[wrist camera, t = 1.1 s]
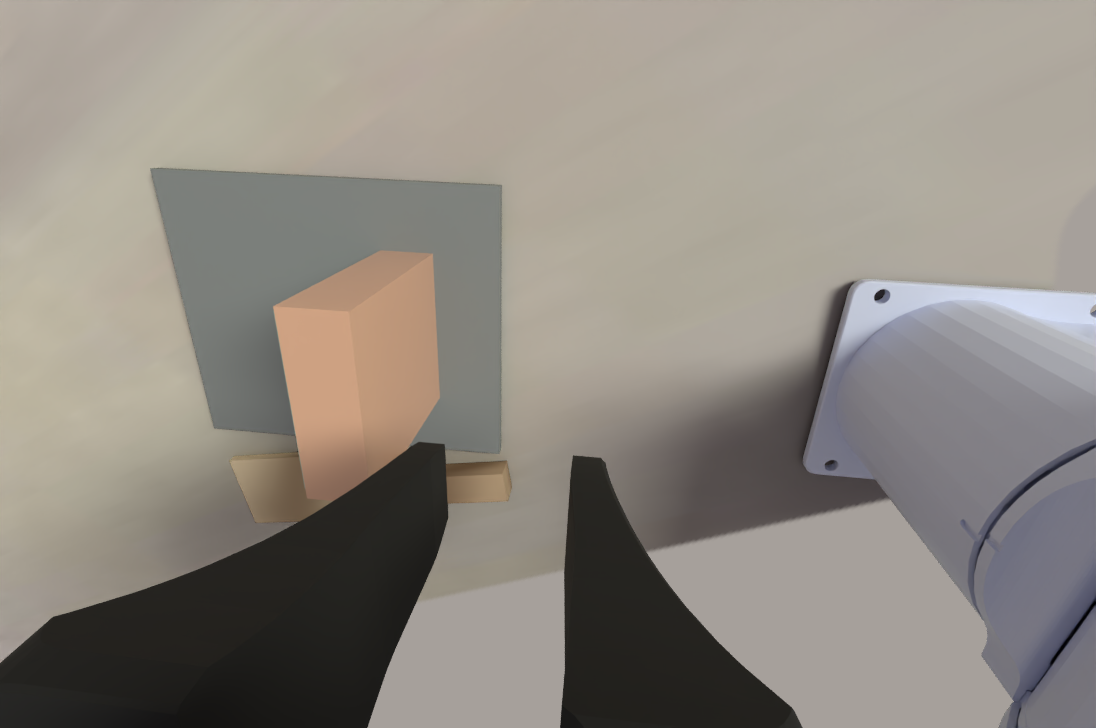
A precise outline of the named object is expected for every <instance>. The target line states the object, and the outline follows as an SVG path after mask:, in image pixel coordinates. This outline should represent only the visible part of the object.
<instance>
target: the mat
mask: <svg viewBox="0 0 1096 728" xmlns="http://www.w3.org/2000/svg"><path fill="white" fill-rule="evenodd" d="M150 170H151V174H152V178H153V182H154V186H155V190H156V194H157V198H158V202H159V206H160V210H161V214H162V218H163V222H164V226H165V231H166V235H167V239H168V243H169V247H170V251H171V255H172V259H173V263H174V267H175V271H176V275H177V279H178V283H179V287H180V291H181V295H182V299H183V303H184V308H185V312H186V316H187V320H188V324H189V328H190V332H191V336H192V340H193V344H194V348H195V352H196V356H197V360H198V364H199V368H200V372H201V376H202V380H203V384H204V389H205V393H206V397H207V401H208V405H209V409H210V413H211V417H212V421H213V425H214V428H218V429H229V430H240V431H251V432H263V433H274V434H285V435H295V431H294V425H293V419H292V414H291V408H290V402H289V397H288V391H287V385H286V380H285V374H284V369H283V363H282V357H281V352H280V346H279V340H278V335H277V329H276V323H275V318H274V312H273V311H274V309H273V306H275V305H276V304H278V303H280V302H282V301H284V300H286V299H288V298H290V297H292V296H294V295H296V294H298V293H300V292H301V291H303V290H305V289H307V288H309V287H311V286H313V285H315V284H317V283H319V282H321V281H323V280H325V279H326V278H328V277H330V276H332V275H334V274H336V273H338V272H340V271H342V270H344V269H346V268H348V267H349V266H351V265H353V264H355V263H357V262H359V261H361V260H363V259H365V258H367V257H369V256H371V255H373V254H374V253H376V252H378V251H380V250H383V251H399V252H415V253H432V254H433V268H434V288H435V308H436V329H437V349H438V369H439V389H440V398H439V400H438V401H437V403H436V405H435V406H434V408H433V409H432V411H431V412H430V414H429V416H428V417H427V419H426V420H425V422H424V423H423V425H422V427H421V428H420V430H419V431H418V433H417V435H416V436H415V438H414V439H413V441H412V442H411V444H410V446H413V445H414V444H416V443H417V442H427V443H438V444H445V449H450V450H461V451H473V452H484V453H495V454H499V453H500V450H501V205H502V185H490V184H470V183H450V182H430V181H410V180H390V179H370V178H350V177H330V176H310V175H290V174H269V173H249V172H229V171H209V170H189V169H169V168H152V169H150Z"/></svg>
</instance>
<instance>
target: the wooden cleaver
mask: <svg viewBox="0 0 1096 728" xmlns="http://www.w3.org/2000/svg"><path fill="white" fill-rule="evenodd" d="M229 462H230V464H231V466H232V469H233V471H234V473H235V476H236V478H237V480H238V483H239V485H240V487H241V490H242V492H243V494H244V497H245V499H246V501H247V504H248V506H249V508H250V511H251V513H252V515H253V518H254V520H255V522H256V523H268V522H298V521H301V520H303V519H305V518H307V517H308V516H310V515H312V514H314V513H315V512H317V511H318V510H320V509H322V508H323V507H325V506H326V505H328V504H329V503H331V502H332V501H327V500H317V499H307V495H306V490H305V487H304V481H303V476H302V470H301V464H300V459H299V453H298V452H294V453H278V454H263V455H248V456H234V457H233V458H232V459H231V460H229ZM446 480H447V501H448V503H474V502H500V501H508V499H509V496H510V492H511V489H512V485H511V479H510V474H509V469H508V464H507V461H498V462H478V463H458V464H446Z"/></svg>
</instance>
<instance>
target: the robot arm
mask: <svg viewBox="0 0 1096 728" xmlns="http://www.w3.org/2000/svg"><path fill="white" fill-rule="evenodd" d="M881 289H885V295H884V296H883V298H881V299H880V300H876V301H875V300H874V295H875V294H876V292H877V291H879V290H881ZM1094 305H1096V293H1090V292H1074V291H1057V290H1041V289H1024V288H1008V287H991V286H975V285H958V284H942V283H925V282H909V281H892V280H876V279H862V280H859V281H857V282H855V283H854V284H853V285H852V286H851V287H850V289H849V291H848V294H847V298H846V302H845V305H844V309H843V313H842V316H841V320H840V324H839V327H838V331H837V335H836V338H835V342H834V346H833V349H832V353H831V357H830V360H829V364H828V368H827V371H826V375H825V379H824V382H823V386H822V390H821V394H820V397H819V401H818V405H817V408H816V412H815V416H814V419H813V423H812V427H811V430H810V434H809V438H808V441H807V445H806V449H805V452H804V456H803V464H804V466H805V468H806V469H807V471H809V472H810V473H813V474H819V475H830V476H842V477H853V478H864V479H875V480H876V481H877V483H878V484H879V485H880V487H881V488H882V489H883V490H884V492H885V493H886V494H887V496H888V497H889V498H890V500H891V501H892V502H893V503H894V505H895V506H896V507H897V509H898V510H899V511H900V513H901V514H902V515H903V517H904V518H905V519H906V520H907V522H908V523H909V524H910V526H911V527H912V528H913V530H914V531H915V532H916V533H917V535H918V536H919V537H920V539H921V540H922V541H923V543H924V544H925V545H926V546H927V548H928V549H929V550H930V552H931V553H932V554H933V555H934V557H935V558H936V559H937V561H938V562H939V563H940V565H941V566H942V567H943V569H944V570H945V571H946V573H947V574H948V575H949V577H950V578H951V579H952V580H953V582H954V583H955V584H956V585H957V587H958V588H959V589H960V591H961V592H962V593H963V595H964V596H965V597H966V599H967V600H968V601H969V602H970V604H971V605H972V606H973V608H974V609H975V610H976V612H977V613H978V614H979V615H980V617H981V618H982V620H983V621H984V622H985V625H986V627H987V634H988V637H987V643H986V646H985V648H984V650H983V652H982V657H983V659H984V660H985V661H986V663H987V664H988V666H989V667H990V668H991V670H992V671H993V673H994V674H995V676H996V677H997V678H998V680H999V681H1000V682H1001V684H1002V685H1003V687H1004V688H1005V690H1006V691H1007V692H1008V694H1009V695H1010V697H1011V698H1012V699H1013V701H1014V702H1013V703H1012V704H1011V705H1010V707H1009V708H1008V709H1007V711H1006V712H1005V714H1004V716H1003V718H1002V720H1001V723H1000V725H999V728H1096V311H1094V312H1092V313H1090V311H1091V309H1092V307H1093V306H1094ZM829 460H835V461H834V462H833V464H831V465H827V466H826V465H825V464H826V462H828V461H829ZM447 520H448V501H447V480H446V458H445V444H438V443H427V442H417V443H416V444H414V445H413V446H411V447H410V448H409V449H407V450H406V451H404V452H403V453H402V454H400V455H399V456H398V457H396V458H395V459H393V460H392V461H391V462H389V463H388V464H387V465H385V466H384V467H383V468H381V469H380V470H378V471H377V472H376V473H374V474H373V475H371V476H370V477H368V478H367V479H366V480H364V481H363V482H361V483H360V484H359V485H357V486H356V487H354V488H353V489H351V490H350V491H348V492H347V493H345V494H343V495H342V496H340V497H339V498H337V499H336V500H334V501H332V502H331V503H329V504H328V505H326V506H325V507H323V508H322V509H320V510H318V511H317V512H315V513H314V514H312V515H310V516H308V517H307V518H305V519H303V520H301V521H300V522H298V523H296V524H294V525H293V526H291V527H289V528H287V529H285V530H283V531H281V532H279V533H277V534H275V535H274V536H272V537H270V538H268V539H266V540H264V541H262V542H260V543H257V544H255V545H253V546H251V547H248V548H246V549H244V550H242V551H240V552H237V553H235V554H233V555H231V556H228V557H226V558H224V559H222V560H220V561H217V562H215V563H213V564H211V565H208V566H206V567H203V568H201V569H198V570H195V571H193V572H190V573H188V574H185V575H183V576H180V577H177V578H175V579H172V580H169V581H166V582H164V583H161V584H158V585H155V586H152V587H150V588H147V589H144V590H141V591H138V592H135V593H132V594H129V595H126V596H122V597H119V598H116V599H112V600H109V601H106V602H103V603H99V604H96V605H93V606H89V607H86V608H83V609H79V610H76V611H73V612H70V613H66V614H62V615H59V616H55V617H53V618H51V619H50V620H49V621H48V622H47V623H46V624H44V625H43V626H42V627H41V628H40V629H39V630H38V631H36V632H35V633H34V634H33V635H32V636H31V637H30V638H28V639H27V640H26V641H25V642H24V643H23V644H22V645H20V646H19V647H18V648H17V649H16V650H15V651H14V652H12V653H11V654H10V655H9V656H8V657H7V658H6V659H4V660H3V661H2V662H1V663H0V728H367V727H368V724H369V721H370V718H371V715H372V712H373V709H374V706H375V703H376V700H377V697H378V694H379V691H380V688H381V685H382V682H383V679H384V677H385V674H386V671H387V668H388V666H389V663H390V661H391V658H392V656H393V653H394V651H395V648H396V646H397V644H398V642H399V640H400V637H401V635H402V632H403V631H404V628H405V626H406V624H407V622H408V619H409V617H410V615H411V613H412V611H413V608H414V606H415V604H416V602H417V600H418V597H419V595H420V593H421V591H422V589H423V586H424V584H425V582H426V580H427V577H428V575H429V573H430V571H431V568H432V566H433V564H434V561H435V559H436V556H437V553H438V550H439V547H440V544H441V541H442V537H443V534H444V530H445V527H446V523H447ZM564 578H565V579H564V582H565V583H564V584H565V585H564V586H565V588H564V589H565V675H564V688H563V698H562V711H561V725H560V728H802V726H801V724H800V722H799V720H798V718H797V716H796V714H795V712H794V710H793V709H792V707H790V706H789V705H788V704H787V703H786V702H784V701H783V700H782V699H781V698H780V697H779V696H777V695H776V694H775V693H774V692H773V691H772V690H770V689H769V688H768V687H767V686H766V685H765V684H763V683H762V682H761V681H760V680H759V679H757V678H756V677H755V676H754V675H753V674H752V673H750V672H749V671H748V670H747V669H746V668H745V667H743V666H742V665H741V664H740V663H739V662H738V661H737V660H736V659H735V658H734V657H733V656H732V655H731V654H730V653H729V652H728V651H727V650H726V649H725V648H724V647H723V646H722V645H721V644H719V643H718V642H717V640H716V639H715V638H714V637H713V636H712V635H711V634H710V633H709V632H708V630H706V628H705V627H704V626H703V625H702V624H701V623H700V622H699V621H698V620H697V618H696V617H695V616H694V615H693V614H692V613H691V612H690V611H689V609H688V608H687V607H686V606H685V605H684V604H683V602H682V601H681V600H680V599H679V597H678V596H677V595H676V593H675V592H674V591H673V590H672V588H671V587H670V586H669V584H668V583H667V582H666V580H665V579H664V578H663V576H662V575H661V573H660V572H659V571H658V569H657V568H656V566H655V565H654V563H653V562H652V560H651V559H650V557H649V556H648V554H647V553H646V551H645V549H644V548H643V546H642V544H641V543H640V541H639V539H638V538H637V536H636V534H635V532H634V531H633V529H632V527H631V525H630V523H629V521H628V519H627V517H626V515H625V513H624V511H623V509H622V507H621V505H620V503H619V501H618V499H617V496H616V494H615V491H614V489H613V487H612V484H611V481H610V478H609V475H608V472H607V468H606V463H605V462H604V461H603V460H602V459H601V458H594V457H583V456H573V461H572V468H571V479H570V494H569V509H568V524H567V540H566V555H565V570H564Z"/></svg>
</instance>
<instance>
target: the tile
mask: <svg viewBox="0 0 1096 728" xmlns="http://www.w3.org/2000/svg"><path fill="white" fill-rule="evenodd" d="M273 309H274V311H273V312H274V318H275V323H276V329H277V335H278V340H279V346H280V352H281V357H282V363H283V369H284V374H285V380H286V385H287V391H288V397H289V402H290V408H291V414H292V419H293V425H294V431H295V436H296V442H297V447H298V453H299V459H300V464H301V470H302V476H303V481H304V487H305V490H306V495H307V499H317V500H327V501H334V500H336V499H337V498H339V497H340V496H342V495H343V494H345V493H347V492H348V491H350V490H351V489H353V488H354V487H356V486H357V485H359V484H360V483H361V482H363V481H364V480H366V479H367V478H368V477H370V476H371V475H373V474H374V473H376V472H377V471H378V470H380V469H381V468H383V467H384V466H385V465H387V464H388V463H389V462H391V461H392V460H393V459H395V458H396V457H398V456H399V455H400V454H402V453H403V452H404V451H406V450H407V449H408V447H409V446H410V444H411V442H412V441H413V439H414V438H415V436H416V435H417V433H418V431H419V430H420V428H421V427H422V425H423V423H424V422H425V420H426V419H427V417H428V416H429V414H430V412H431V411H432V409H433V408H434V406H435V405H436V403H437V401H438V400H439V398H440V389H439V369H438V349H437V329H436V308H435V288H434V268H433V254H432V253H415V252H399V251H383V250H380V251H378V252H376V253H374V254H373V255H371V256H369V257H367V258H365V259H363V260H361V261H359V262H357V263H355V264H353V265H351V266H349V267H348V268H346V269H344V270H342V271H340V272H338V273H336V274H334V275H332V276H330V277H328V278H326V279H325V280H323V281H321V282H319V283H317V284H315V285H313V286H311V287H309V288H307V289H305V290H303V291H301V292H300V293H298V294H296V295H294V296H292V297H290V298H288V299H286V300H284V301H282V302H280V303H278V304H276V305H275V306H273Z"/></svg>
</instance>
